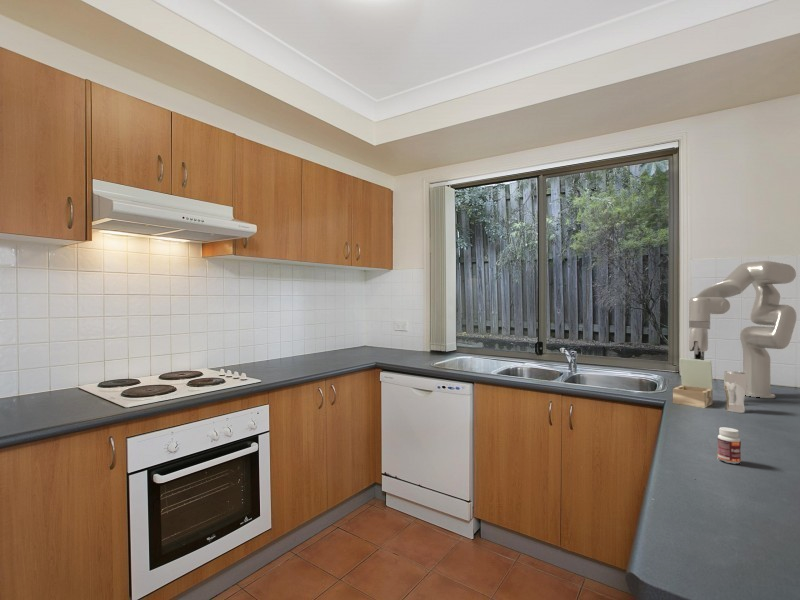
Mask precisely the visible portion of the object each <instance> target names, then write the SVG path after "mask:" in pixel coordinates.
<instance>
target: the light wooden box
mask: <svg viewBox="0 0 800 600" xmlns="http://www.w3.org/2000/svg"><path fill="white" fill-rule="evenodd" d="M713 389H714V388H713ZM713 389H711V388H703V387H695V386H687V385H682V384H681V385H679V386H676V387H674V388H672V403H673V404H678V405H684V406H690V407H695V408H703V409H705V408H707V407H709V406H711V405H713V400H714V399H713V396H714V395H713V394H714V393H713Z"/></svg>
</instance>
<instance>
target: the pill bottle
mask: <svg viewBox="0 0 800 600" xmlns="http://www.w3.org/2000/svg"><path fill="white" fill-rule="evenodd" d="M718 430H719V432H718V433H719V434H718V435H717V459H718V458H720V459H723V460H726V461H731V462H742V461H741V457H742V455H741V450H742V447H741V444H742V441H741V438H739V436H740V431H739V430H738V429H737V428H732V427H726V426H725V427H723V426H721V427H719V429H718Z"/></svg>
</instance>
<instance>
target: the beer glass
mask: <svg viewBox="0 0 800 600" xmlns="http://www.w3.org/2000/svg"><path fill="white" fill-rule="evenodd" d="M723 388H724V393H725V398H726V403H725V404H726V405H725V409H724V410H725V411H727V412H730V413H735V412H736V414H737V413H738V414H745V413H746V408H745V399H746V398H745V397H746V396H745V394H746V389H747V380H746V373H743V371H733V370H725V371H724V374H723Z"/></svg>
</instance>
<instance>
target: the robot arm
mask: <svg viewBox="0 0 800 600" xmlns="http://www.w3.org/2000/svg"><path fill="white" fill-rule="evenodd" d="M796 276H797V271H796V269H795V267H793V266H792V265H790V264H787V263H783V262H782V263H781V262H776V261H770V260H762V261H761V260H759V261H748V262H743V263H741V264H740V265H738V266H737V267H736V268H735V269H734V270H733V271H732V272H731V273H730V274H729V275H727V276H726V278H724V279H723V280H721V281H719V282H717V283H714V284H712V285H710V286H708V287H705V288H704V289H703V290H702V291H700V292H699V293H698V294H697V295H696V296H694V297H691V298H689V299H688V301H689V302H688V320H689V321H688V329H690V331H689V341H688V342H689V343H688V351H690V352H693V354H694V358H693V359H701V360H705V352H707V351H708V349H709V331H708V330H711V315H723V314H725V313H727V312H728V311H730V309H731V303H730V301H729V300H728V299H727V298H731V297H735V296H738V295H740V294H742V293H743V292H744V291H745V290H746V289H747V288H748V287H749V286H750V285H752V287H754V291H755V299H754V302H753V305H752V309H751V313H750V321H751V322H752V323H753V324H754V325H755V324H756V325H755V326H754V325H753V326H747V327H744V328H743V329H742V330H740V334H739V336H740V338H739V339H740V343H741V347H742V372H743V373H746V380H747V389H746V394H745V395H746V396H745V397H749V396H751V398H756V397H760V398H759V399H775V398H776V394H773V393H771V356H770V354H769V352H768V351H767V349H771V350H783V349H785V348H787V347H788V346H789V344H790V342H791V339H792V337H793V332H794V329H795V326H796V322H797V312H796V310H795V308H794V307H792V305H788V304H780V301H781V294H780V292H779V290H778V289H777V288H776V287H775V286H774V285H783V284H784V285H785V284H786V285H787V284H790V283H792V282H794V280H795V279H796ZM757 325H758V326H757ZM759 325H760V326H759Z"/></svg>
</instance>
